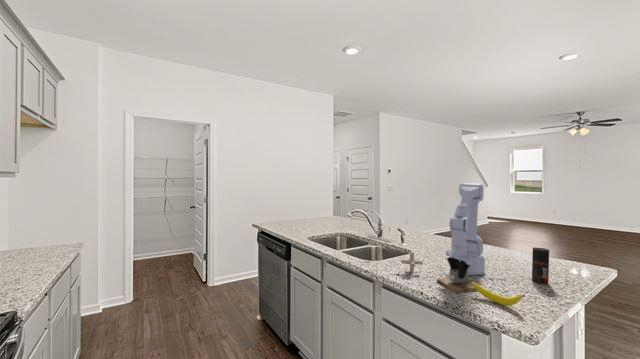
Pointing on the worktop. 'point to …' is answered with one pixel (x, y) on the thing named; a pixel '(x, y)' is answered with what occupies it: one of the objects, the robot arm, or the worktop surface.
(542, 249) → the deodorant
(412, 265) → the pipe connector
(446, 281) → the board
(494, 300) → the banana
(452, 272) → the plug
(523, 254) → the worktop surface
